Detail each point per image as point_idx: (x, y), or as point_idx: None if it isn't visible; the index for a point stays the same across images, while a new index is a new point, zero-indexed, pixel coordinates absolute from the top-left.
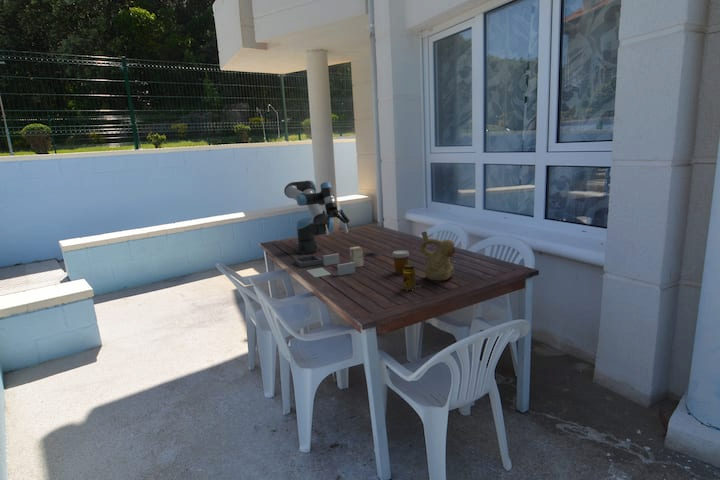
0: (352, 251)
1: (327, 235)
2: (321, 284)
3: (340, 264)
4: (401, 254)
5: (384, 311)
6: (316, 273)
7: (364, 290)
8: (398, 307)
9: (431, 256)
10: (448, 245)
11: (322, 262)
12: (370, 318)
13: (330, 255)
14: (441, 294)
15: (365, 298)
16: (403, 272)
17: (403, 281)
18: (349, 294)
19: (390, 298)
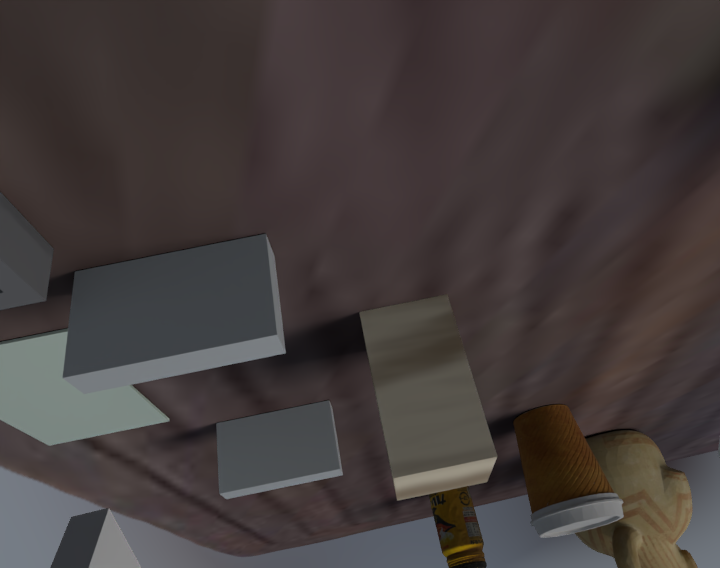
0: (391, 471)
1: (103, 518)
2: (113, 484)
3: (241, 491)
4: (555, 533)
5: (306, 538)
6: (44, 412)
7: (300, 498)
8: (347, 529)
9: (599, 548)
10: None
11: (50, 268)
12: (263, 551)
13: (169, 375)
14: (488, 496)
15: (283, 519)
16: (442, 551)
17: (435, 513)
18: (238, 513)
19: (353, 514)
